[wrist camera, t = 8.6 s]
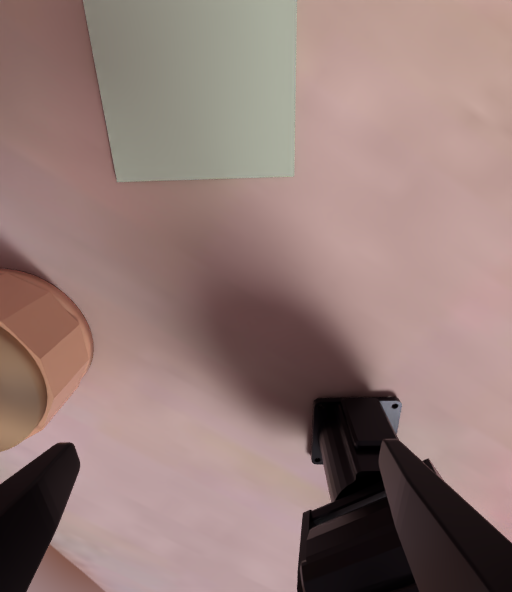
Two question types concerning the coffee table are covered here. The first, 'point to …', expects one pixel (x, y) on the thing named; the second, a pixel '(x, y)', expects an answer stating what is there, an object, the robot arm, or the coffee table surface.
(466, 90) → the coffee table surface
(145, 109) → the mat
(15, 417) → the lid
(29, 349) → the bowl
